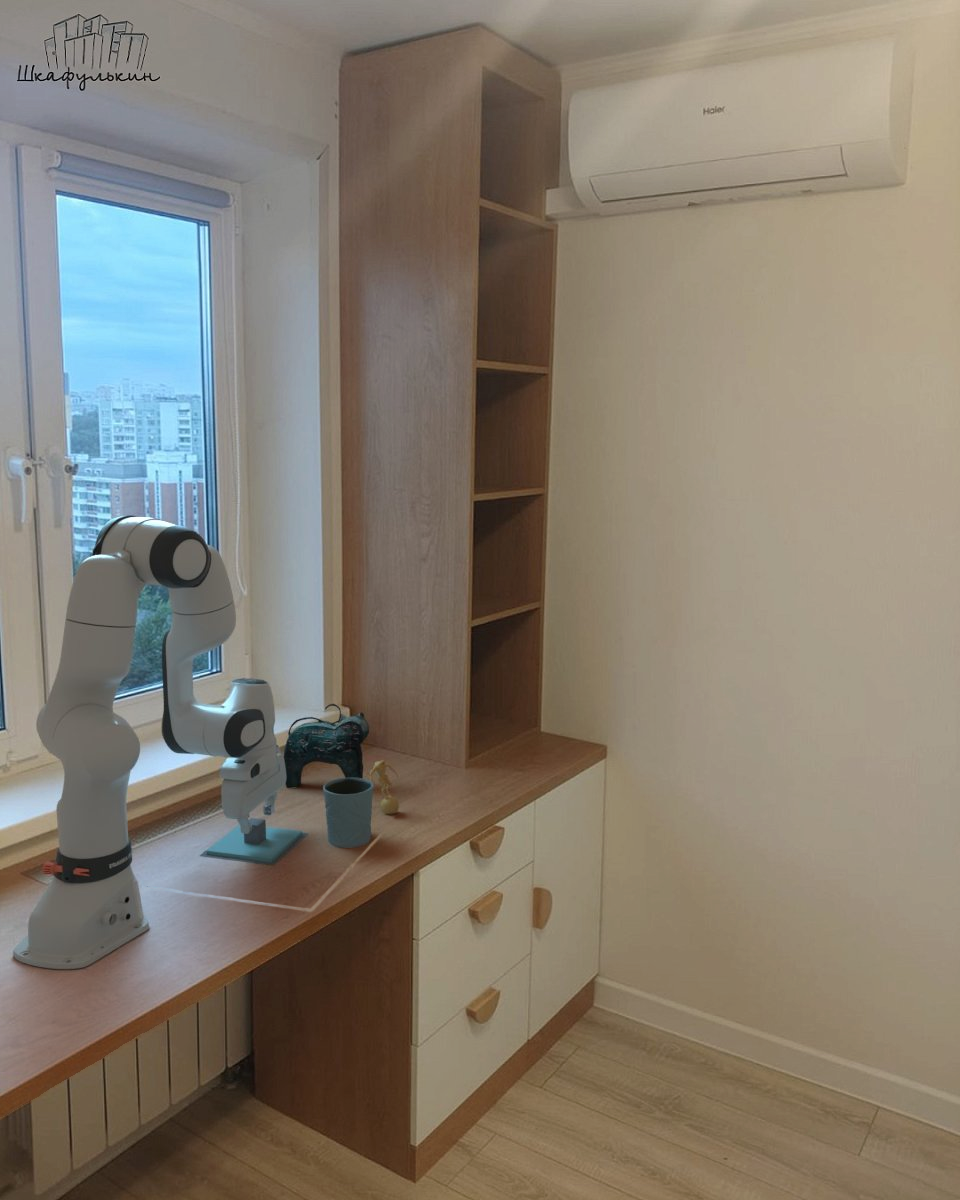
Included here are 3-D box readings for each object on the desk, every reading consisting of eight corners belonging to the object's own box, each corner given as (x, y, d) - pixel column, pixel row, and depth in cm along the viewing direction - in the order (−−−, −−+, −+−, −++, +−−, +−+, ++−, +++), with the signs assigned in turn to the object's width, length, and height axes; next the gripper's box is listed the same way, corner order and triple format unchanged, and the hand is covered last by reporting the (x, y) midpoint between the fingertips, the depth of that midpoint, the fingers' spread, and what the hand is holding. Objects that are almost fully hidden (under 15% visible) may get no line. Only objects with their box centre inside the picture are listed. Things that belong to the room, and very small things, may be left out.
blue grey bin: (329, 854, 212) (328, 796, 210) (320, 834, 222) (318, 779, 219) (379, 847, 215) (378, 791, 213) (368, 828, 225) (367, 774, 223)
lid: (271, 862, 207) (270, 839, 206) (206, 854, 211) (205, 831, 210) (302, 834, 220) (301, 812, 219) (240, 827, 224) (239, 805, 223)
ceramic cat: (371, 784, 251) (369, 701, 247) (365, 794, 244) (363, 709, 241) (288, 780, 253) (285, 698, 249) (280, 790, 246) (277, 706, 243)
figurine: (383, 822, 228) (382, 768, 226) (363, 815, 232) (362, 762, 230) (409, 810, 235) (408, 758, 232) (388, 804, 238) (388, 752, 236)
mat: (273, 868, 206) (273, 865, 206) (199, 858, 210) (199, 855, 210) (308, 836, 221) (308, 833, 221) (238, 827, 225) (238, 824, 225)
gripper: (264, 739, 223) (268, 801, 225) (214, 773, 203) (218, 841, 206) (292, 741, 221) (295, 804, 224) (243, 776, 202) (247, 845, 204)
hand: (258, 822), depth 215 cm, fingers open, 8 cm apart
